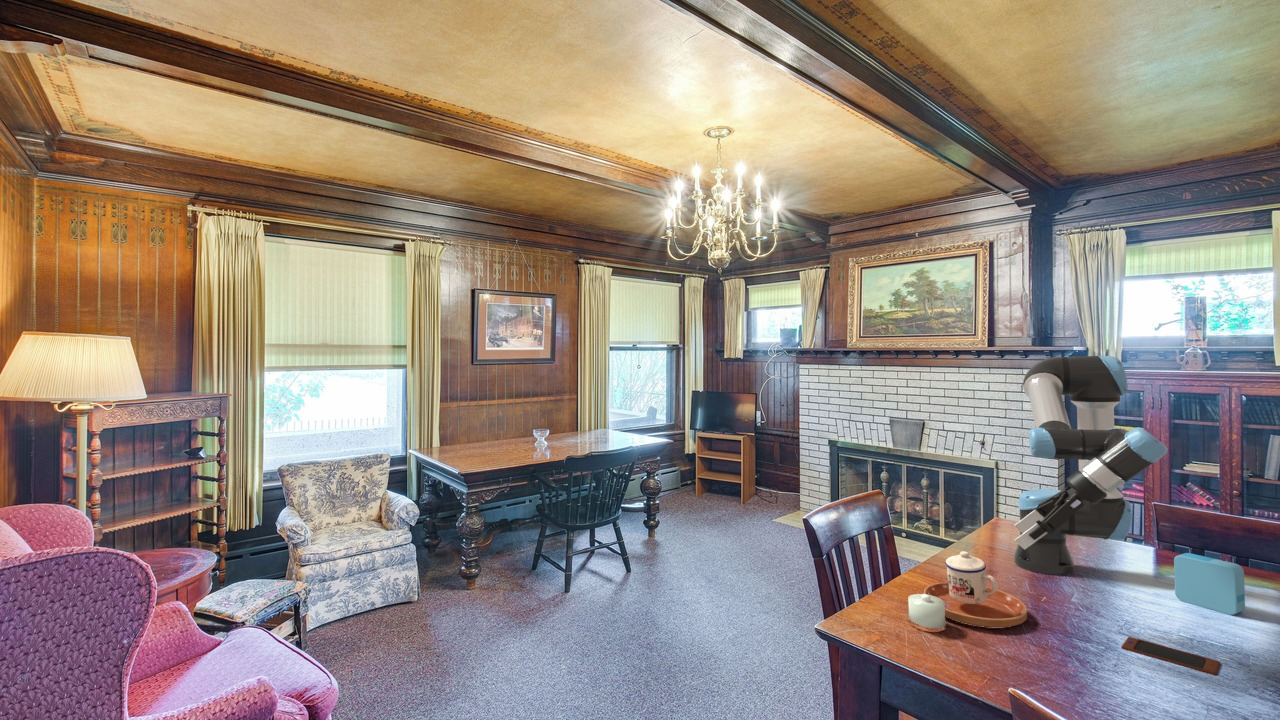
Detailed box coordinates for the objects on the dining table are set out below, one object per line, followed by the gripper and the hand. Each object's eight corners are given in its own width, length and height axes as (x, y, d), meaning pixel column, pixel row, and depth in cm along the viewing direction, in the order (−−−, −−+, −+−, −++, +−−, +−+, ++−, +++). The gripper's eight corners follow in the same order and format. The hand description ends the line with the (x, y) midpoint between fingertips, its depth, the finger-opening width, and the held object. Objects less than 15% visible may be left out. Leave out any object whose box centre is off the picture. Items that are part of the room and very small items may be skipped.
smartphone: (1128, 635, 130) (1221, 660, 119) (1128, 639, 130) (1221, 665, 119) (1120, 645, 126) (1216, 673, 114) (1120, 650, 126) (1216, 678, 114)
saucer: (1018, 602, 152) (1017, 588, 152) (1036, 641, 131) (1035, 625, 131) (922, 590, 161) (922, 577, 161) (925, 624, 140) (925, 609, 140)
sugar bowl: (911, 615, 145) (910, 586, 145) (946, 622, 140) (946, 593, 140) (906, 627, 138) (905, 598, 138) (943, 635, 134) (942, 605, 134)
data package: (1245, 613, 140) (1244, 565, 141) (1237, 617, 139) (1235, 568, 139) (1183, 596, 151) (1182, 551, 151) (1174, 599, 150) (1173, 553, 150)
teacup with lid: (941, 596, 148) (937, 552, 147) (960, 585, 153) (956, 543, 152) (989, 612, 138) (984, 566, 137) (1008, 600, 142) (1004, 555, 142)
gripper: (1117, 506, 120) (1034, 565, 128) (1101, 483, 141) (1030, 535, 149) (1085, 479, 123) (1005, 538, 131) (1074, 461, 144) (1006, 512, 152)
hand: (1018, 537), depth 140 cm, fingers open, 13 cm apart
